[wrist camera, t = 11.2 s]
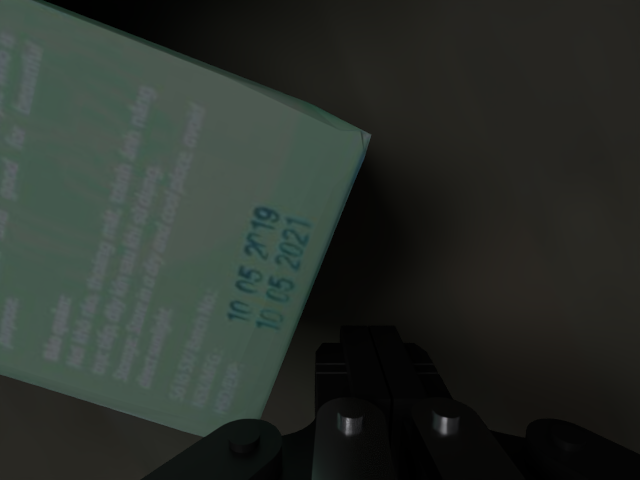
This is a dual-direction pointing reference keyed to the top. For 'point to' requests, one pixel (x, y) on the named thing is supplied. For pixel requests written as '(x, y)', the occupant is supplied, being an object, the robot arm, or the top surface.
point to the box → (155, 220)
